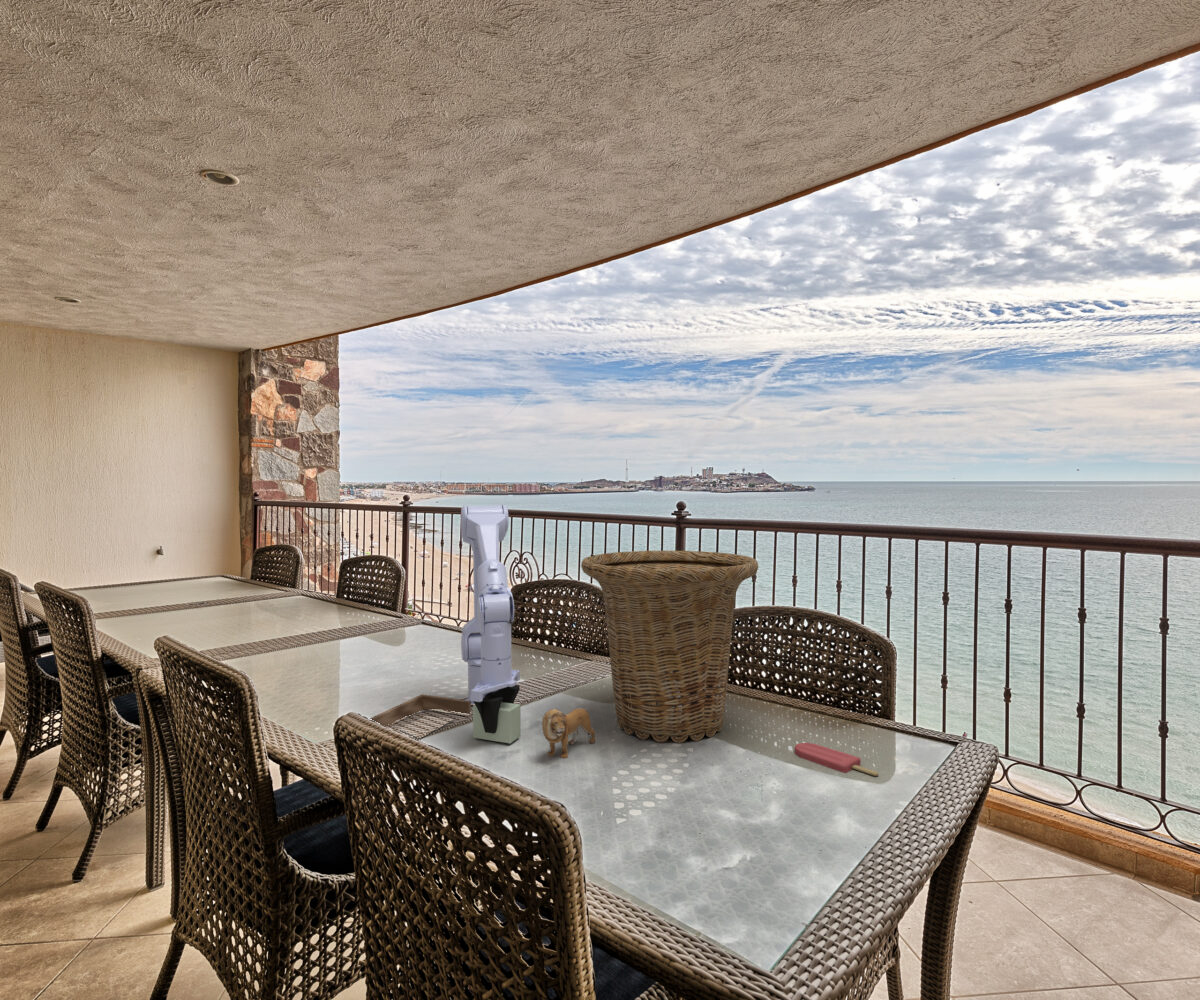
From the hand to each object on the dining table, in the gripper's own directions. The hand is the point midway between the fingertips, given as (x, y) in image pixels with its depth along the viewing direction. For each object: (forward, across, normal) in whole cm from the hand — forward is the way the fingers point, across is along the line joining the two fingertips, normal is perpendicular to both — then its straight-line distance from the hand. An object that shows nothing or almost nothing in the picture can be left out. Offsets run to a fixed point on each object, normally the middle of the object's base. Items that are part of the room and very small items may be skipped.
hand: (496, 728), depth 125 cm
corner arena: (+2, +2, +18) cm, 18 cm away
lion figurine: (+2, 0, -15) cm, 15 cm away
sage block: (+2, 0, 0) cm, 2 cm away
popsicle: (+3, +12, -60) cm, 61 cm away
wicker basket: (+2, +20, -28) cm, 34 cm away
